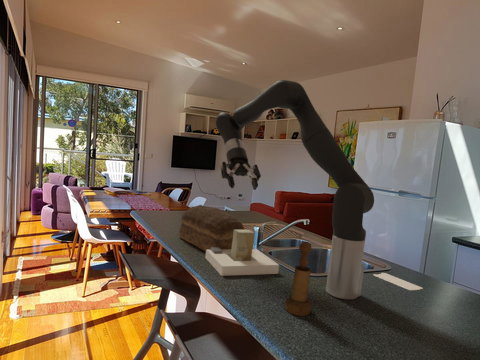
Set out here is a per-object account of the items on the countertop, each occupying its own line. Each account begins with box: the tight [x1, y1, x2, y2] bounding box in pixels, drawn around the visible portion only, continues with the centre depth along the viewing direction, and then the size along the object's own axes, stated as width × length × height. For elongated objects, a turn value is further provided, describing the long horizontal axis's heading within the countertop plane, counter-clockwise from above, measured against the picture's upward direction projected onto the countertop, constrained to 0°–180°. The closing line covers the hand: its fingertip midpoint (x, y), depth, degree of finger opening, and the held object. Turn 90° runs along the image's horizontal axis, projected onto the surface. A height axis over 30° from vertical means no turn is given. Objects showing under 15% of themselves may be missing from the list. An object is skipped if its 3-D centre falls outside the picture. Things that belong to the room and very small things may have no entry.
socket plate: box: [204, 247, 280, 277], centre depth 125 cm, size 20×18×4 cm
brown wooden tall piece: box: [284, 241, 312, 317], centre depth 93 cm, size 7×6×18 cm
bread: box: [179, 204, 245, 252], centre depth 146 cm, size 15×32×16 cm, turn 37°
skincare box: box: [230, 229, 255, 261], centre depth 125 cm, size 6×4×12 cm
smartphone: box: [371, 272, 425, 292], centre depth 126 cm, size 8×1×16 cm
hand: (244, 187), depth 126 cm, fingers open, 8 cm apart
